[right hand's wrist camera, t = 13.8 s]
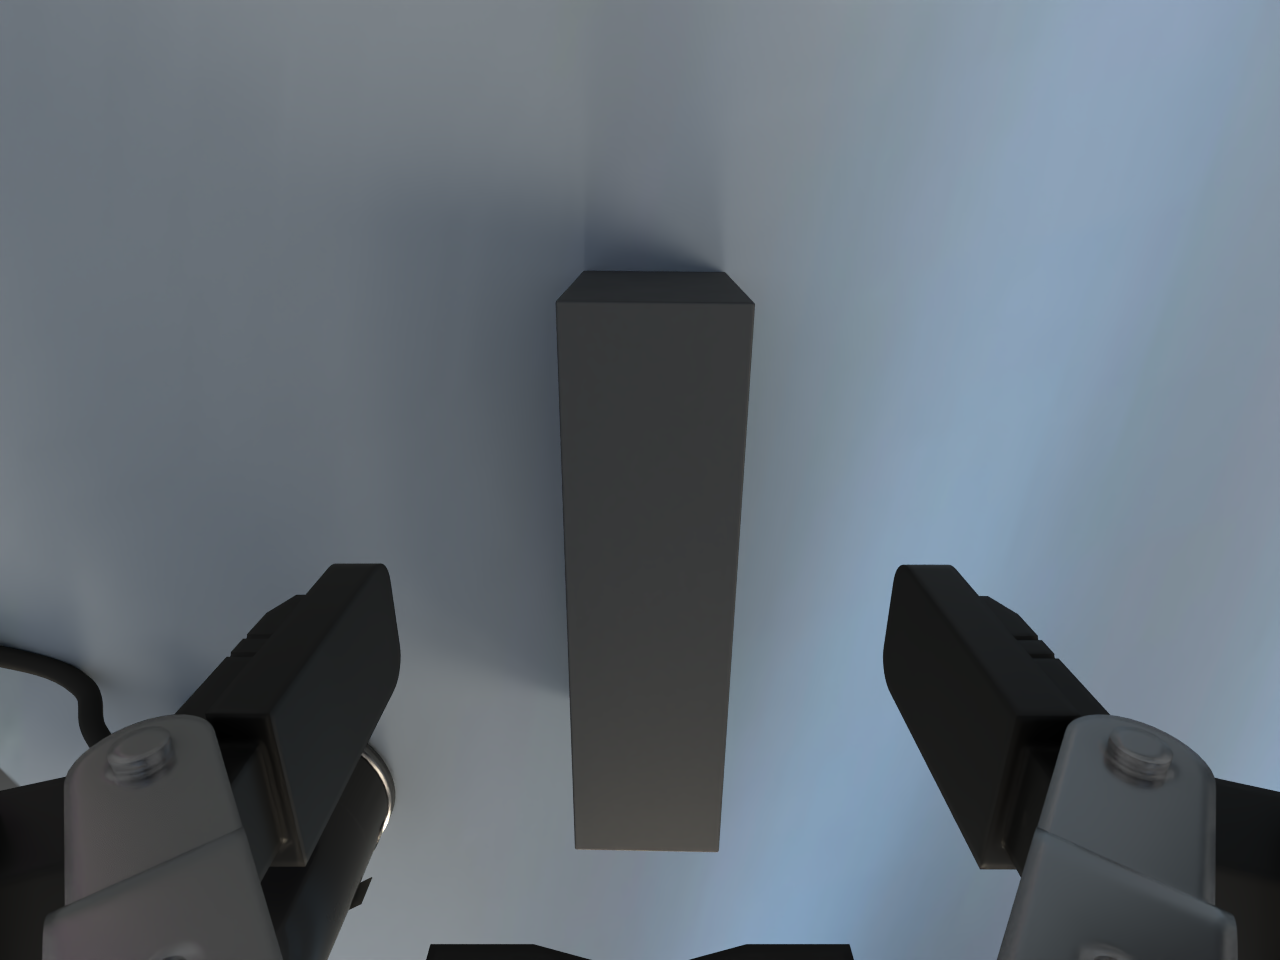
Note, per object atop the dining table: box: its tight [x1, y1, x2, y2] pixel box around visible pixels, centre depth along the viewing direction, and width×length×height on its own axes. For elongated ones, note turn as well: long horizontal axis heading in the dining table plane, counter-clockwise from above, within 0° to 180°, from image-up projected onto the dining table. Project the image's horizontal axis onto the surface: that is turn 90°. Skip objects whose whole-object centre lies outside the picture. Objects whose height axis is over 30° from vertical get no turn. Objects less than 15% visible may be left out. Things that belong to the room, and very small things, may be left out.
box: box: [556, 271, 755, 852], centre depth 29 cm, size 22×6×9 cm, turn 0°
